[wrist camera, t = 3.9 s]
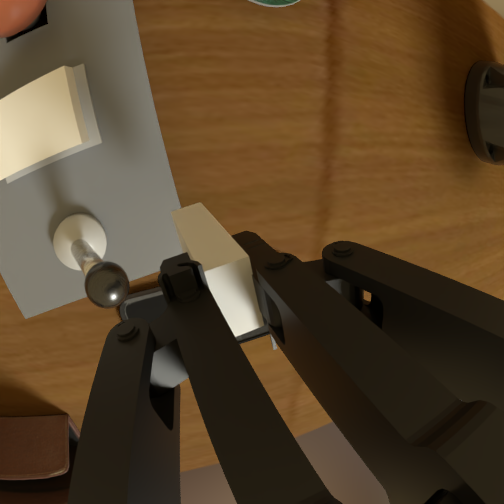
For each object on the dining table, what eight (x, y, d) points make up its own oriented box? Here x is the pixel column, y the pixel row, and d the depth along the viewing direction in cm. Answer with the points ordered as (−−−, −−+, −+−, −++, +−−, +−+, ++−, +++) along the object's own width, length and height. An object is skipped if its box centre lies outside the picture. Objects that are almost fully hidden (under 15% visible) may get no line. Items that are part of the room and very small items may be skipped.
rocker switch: (74, 67, 13) (64, 65, 12) (91, 139, 15) (82, 143, 14) (-6, 109, 13) (-19, 112, 11) (11, 174, 15) (-1, 181, 13)
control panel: (122, -44, 14) (123, -68, 10) (188, 242, 25) (198, 262, 21) (-42, 27, 10) (-63, 17, 7) (33, 298, 21) (23, 325, 18)
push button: (56, -20, 11) (40, -52, 7) (61, 31, 13) (43, 6, 9) (-2, 7, 10) (-29, -16, 6) (2, 58, 12) (-29, 44, 8)
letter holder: (99, 457, 31) (113, 552, 19) (-16, 456, 24) (-22, 536, 12) (68, 411, 27) (71, 527, 15) (-54, 412, 20) (-73, 500, 8)
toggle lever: (86, 225, 18) (125, 260, 12) (97, 253, 18) (143, 301, 13) (58, 239, 17) (81, 284, 11) (71, 267, 17) (102, 324, 12)
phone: (292, 326, 31) (144, 371, 27) (287, 320, 32) (142, 363, 28) (289, 255, 28) (115, 301, 23) (283, 250, 29) (115, 294, 24)
